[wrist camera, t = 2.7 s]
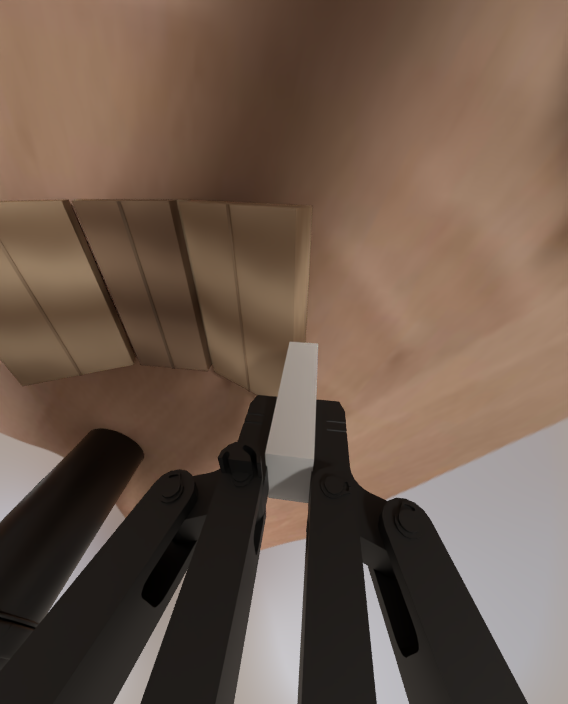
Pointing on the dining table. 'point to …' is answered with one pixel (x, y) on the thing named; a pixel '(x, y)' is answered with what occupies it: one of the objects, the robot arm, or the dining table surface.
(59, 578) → the water bottle
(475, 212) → the dining table surface
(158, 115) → the dining table surface
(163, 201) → the floor board
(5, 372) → the dining table surface
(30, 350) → the plank
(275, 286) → the plank
